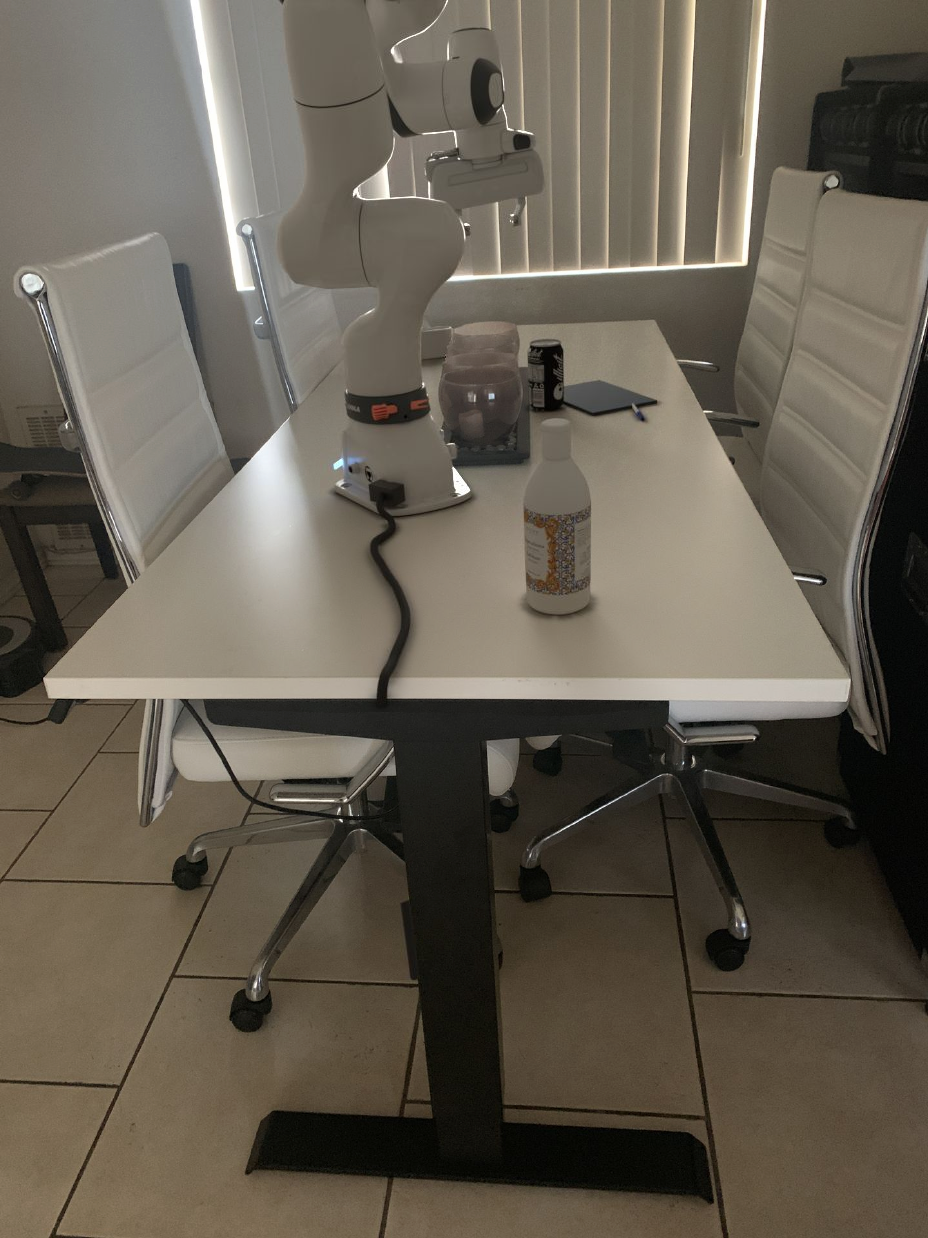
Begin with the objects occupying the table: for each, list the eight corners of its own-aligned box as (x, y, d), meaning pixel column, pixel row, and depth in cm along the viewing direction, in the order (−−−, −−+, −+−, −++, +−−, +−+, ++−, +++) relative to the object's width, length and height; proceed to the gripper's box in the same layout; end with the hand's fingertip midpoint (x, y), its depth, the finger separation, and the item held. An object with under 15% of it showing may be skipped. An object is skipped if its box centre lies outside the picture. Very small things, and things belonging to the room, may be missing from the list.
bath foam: (513, 600, 98) (506, 422, 88) (562, 581, 101) (560, 408, 92) (554, 623, 93) (551, 436, 83) (603, 603, 96) (606, 421, 86)
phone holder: (456, 355, 212) (451, 275, 203) (415, 360, 210) (408, 280, 201) (439, 342, 227) (433, 267, 218) (400, 347, 225) (393, 271, 216)
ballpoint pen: (645, 421, 155) (646, 415, 155) (640, 421, 155) (641, 415, 155) (633, 405, 164) (633, 400, 164) (628, 406, 164) (628, 400, 164)
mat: (657, 402, 165) (657, 400, 164) (592, 415, 160) (592, 412, 160) (599, 382, 181) (599, 379, 181) (539, 393, 176) (539, 390, 176)
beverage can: (563, 402, 169) (563, 337, 163) (563, 411, 163) (563, 344, 158) (529, 403, 170) (527, 338, 164) (528, 412, 164) (526, 346, 158)
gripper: (427, 155, 144) (439, 245, 152) (545, 134, 147) (550, 222, 155) (418, 151, 149) (429, 238, 157) (531, 131, 152) (537, 217, 160)
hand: (490, 230), depth 156 cm, fingers open, 8 cm apart
